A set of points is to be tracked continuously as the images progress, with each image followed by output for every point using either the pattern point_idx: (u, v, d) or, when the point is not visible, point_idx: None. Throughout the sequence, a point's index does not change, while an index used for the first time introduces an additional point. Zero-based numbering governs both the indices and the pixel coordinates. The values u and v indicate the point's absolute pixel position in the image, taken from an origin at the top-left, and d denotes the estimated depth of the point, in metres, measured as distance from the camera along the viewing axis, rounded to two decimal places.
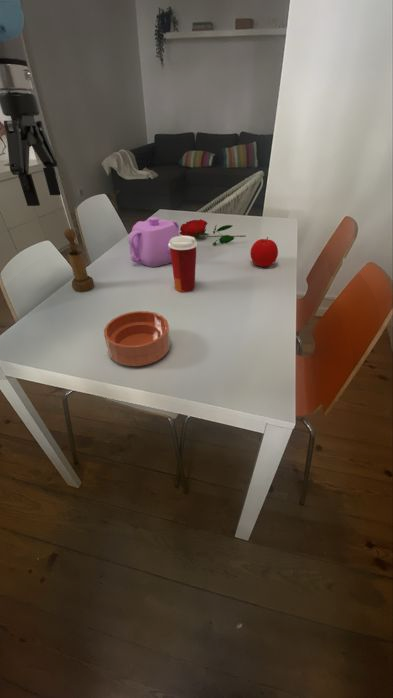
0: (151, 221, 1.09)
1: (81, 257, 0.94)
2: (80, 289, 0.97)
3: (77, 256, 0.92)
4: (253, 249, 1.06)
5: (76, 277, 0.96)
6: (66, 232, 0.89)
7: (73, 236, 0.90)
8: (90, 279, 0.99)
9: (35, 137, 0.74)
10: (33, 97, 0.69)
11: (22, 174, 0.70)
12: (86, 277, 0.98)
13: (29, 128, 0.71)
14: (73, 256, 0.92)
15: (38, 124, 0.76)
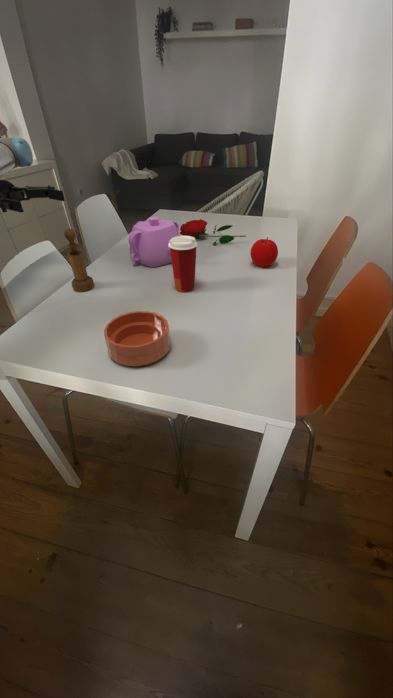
0: (151, 221, 1.09)
1: (81, 257, 0.94)
2: (80, 289, 0.97)
3: (77, 256, 0.92)
4: (253, 249, 1.06)
5: (76, 277, 0.96)
6: (66, 232, 0.89)
7: (73, 236, 0.90)
8: (90, 279, 0.99)
9: None
10: None
11: None
12: (86, 277, 0.98)
13: None
14: (73, 256, 0.92)
15: None
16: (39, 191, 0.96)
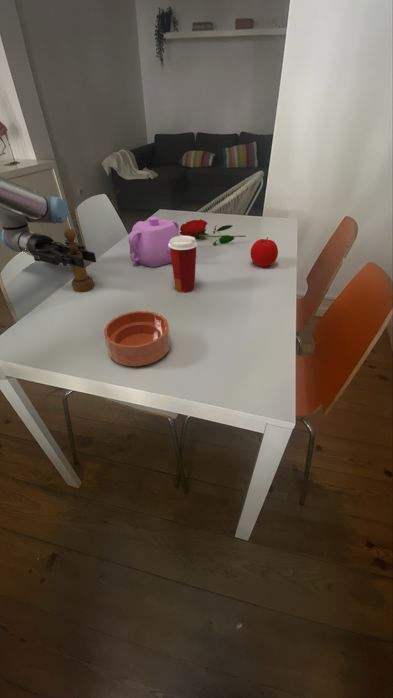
0: (151, 221, 1.09)
1: (81, 257, 0.94)
2: (80, 289, 0.97)
3: (77, 256, 0.92)
4: (253, 249, 1.06)
5: (76, 277, 0.96)
6: (66, 232, 0.89)
7: (73, 236, 0.90)
8: (90, 279, 0.99)
9: None
10: None
11: None
12: (86, 277, 0.98)
13: None
14: None
15: None
16: None
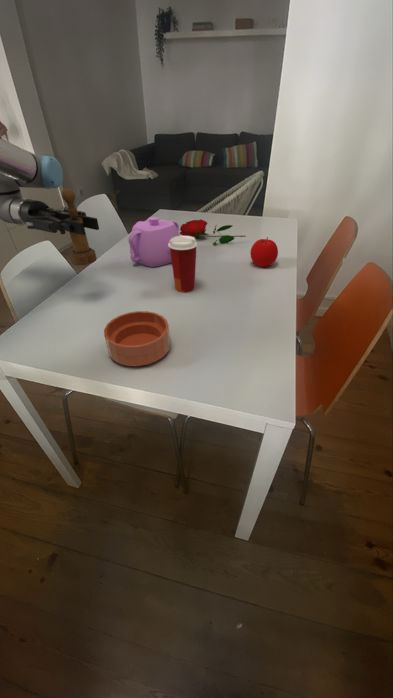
0: (151, 221, 1.09)
1: None
2: (80, 262, 0.84)
3: None
4: (253, 249, 1.06)
5: (76, 248, 0.83)
6: (64, 192, 0.76)
7: (72, 197, 0.77)
8: (92, 251, 0.86)
9: None
10: None
11: None
12: (87, 248, 0.85)
13: None
14: None
15: None
16: None
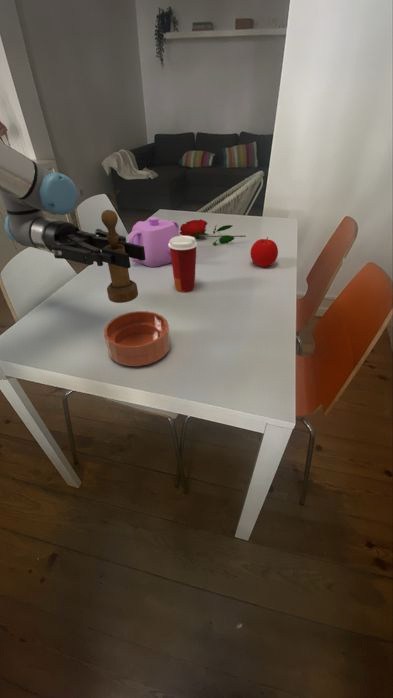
0: (151, 221, 1.09)
1: None
2: (120, 299, 0.67)
3: None
4: (253, 249, 1.06)
5: (115, 282, 0.67)
6: (105, 215, 0.59)
7: (115, 221, 0.60)
8: (134, 285, 0.69)
9: None
10: None
11: None
12: (128, 282, 0.68)
13: None
14: None
15: None
16: (107, 242, 0.67)
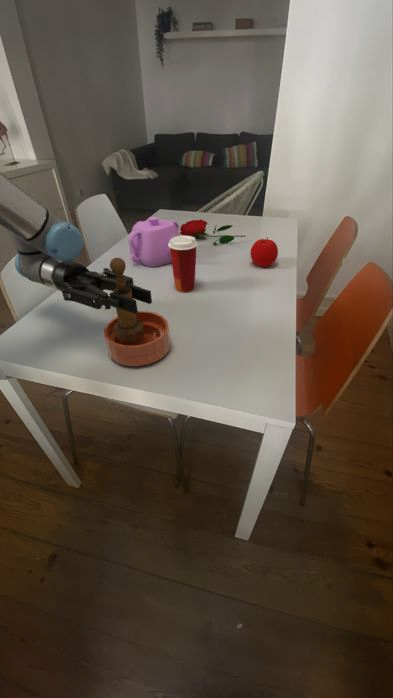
0: (151, 221, 1.09)
1: (131, 296, 0.66)
2: (127, 339, 0.70)
3: (126, 296, 0.65)
4: (253, 249, 1.06)
5: (122, 323, 0.69)
6: (113, 263, 0.61)
7: (123, 269, 0.62)
8: (140, 324, 0.71)
9: None
10: None
11: None
12: (135, 322, 0.70)
13: None
14: None
15: None
16: (114, 284, 0.69)
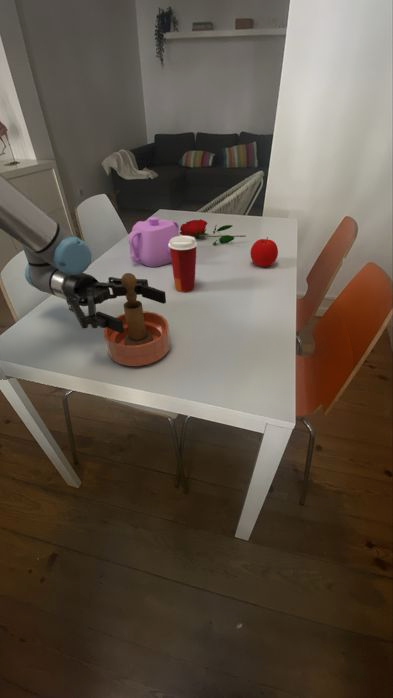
0: (151, 221, 1.09)
1: (141, 310, 0.68)
2: None
3: (137, 310, 0.66)
4: (253, 249, 1.06)
5: (132, 335, 0.70)
6: (125, 279, 0.62)
7: (134, 284, 0.63)
8: (149, 336, 0.72)
9: None
10: None
11: None
12: (145, 335, 0.71)
13: None
14: (131, 310, 0.66)
15: None
16: None
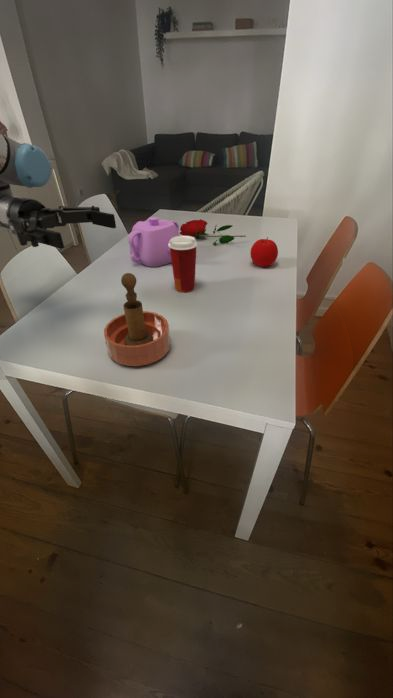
0: (151, 221, 1.09)
1: (141, 310, 0.68)
2: None
3: (137, 310, 0.66)
4: (253, 249, 1.06)
5: (132, 335, 0.70)
6: (125, 279, 0.62)
7: (134, 284, 0.63)
8: (149, 336, 0.72)
9: None
10: None
11: None
12: (145, 335, 0.71)
13: None
14: (131, 310, 0.66)
15: None
16: (79, 214, 0.70)
